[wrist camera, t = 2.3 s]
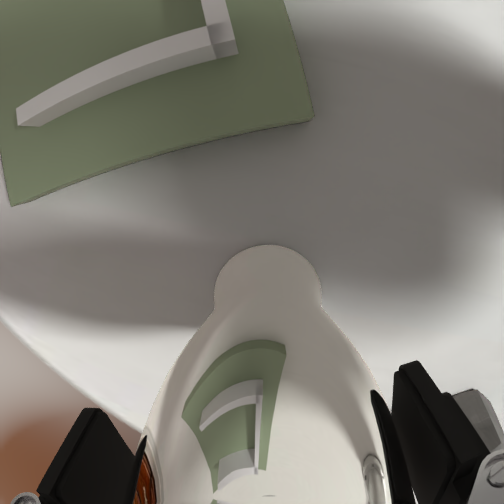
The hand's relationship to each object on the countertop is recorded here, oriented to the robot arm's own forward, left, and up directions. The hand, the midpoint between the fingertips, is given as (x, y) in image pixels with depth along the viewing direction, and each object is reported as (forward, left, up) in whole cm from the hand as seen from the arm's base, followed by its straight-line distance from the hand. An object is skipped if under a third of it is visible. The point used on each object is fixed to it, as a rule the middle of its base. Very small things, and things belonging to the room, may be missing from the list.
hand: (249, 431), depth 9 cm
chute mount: (+4, -19, -10) cm, 22 cm away
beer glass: (-1, 0, -10) cm, 10 cm away
